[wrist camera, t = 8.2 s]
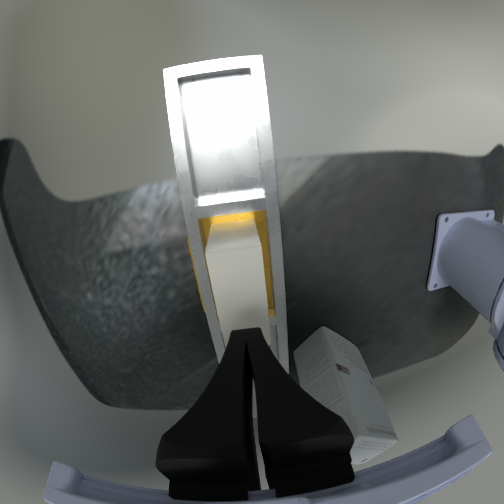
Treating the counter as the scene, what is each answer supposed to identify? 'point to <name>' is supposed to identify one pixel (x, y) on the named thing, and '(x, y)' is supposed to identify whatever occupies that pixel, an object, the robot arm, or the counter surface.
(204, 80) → the tray
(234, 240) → the tall white prism
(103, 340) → the counter surface
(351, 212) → the counter surface
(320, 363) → the skincare box
